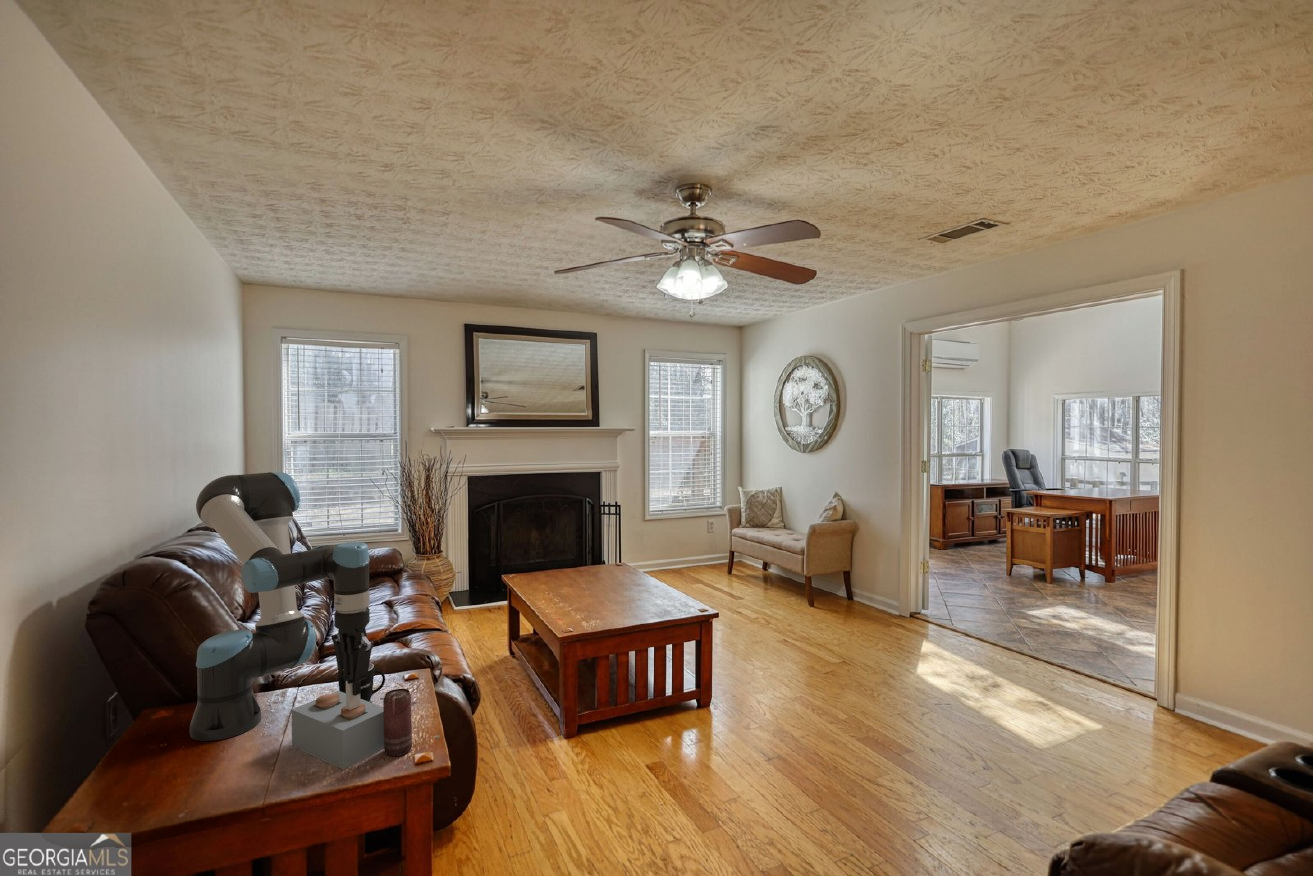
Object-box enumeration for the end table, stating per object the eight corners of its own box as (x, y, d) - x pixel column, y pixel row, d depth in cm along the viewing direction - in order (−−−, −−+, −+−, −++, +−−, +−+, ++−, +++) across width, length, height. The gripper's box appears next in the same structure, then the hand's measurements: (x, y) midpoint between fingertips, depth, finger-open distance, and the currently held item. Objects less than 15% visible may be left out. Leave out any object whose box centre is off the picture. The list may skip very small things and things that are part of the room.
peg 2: (336, 750, 148) (336, 709, 147) (356, 740, 152) (356, 701, 152) (350, 756, 145) (349, 715, 145) (370, 746, 150) (369, 706, 149)
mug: (341, 715, 167) (341, 677, 166) (335, 702, 174) (335, 666, 174) (389, 703, 174) (389, 667, 174) (381, 691, 181) (381, 657, 181)
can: (382, 760, 145) (381, 700, 145) (386, 746, 151) (385, 689, 151) (410, 756, 147) (409, 697, 146) (413, 742, 153) (412, 686, 152)
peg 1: (311, 739, 153) (311, 700, 152) (331, 730, 157) (331, 692, 157) (324, 745, 150) (323, 705, 150) (344, 735, 155) (344, 696, 154)
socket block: (292, 746, 151) (291, 709, 151) (338, 725, 161) (338, 690, 161) (343, 769, 141) (342, 730, 141) (389, 745, 151) (388, 709, 151)
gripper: (320, 608, 147) (321, 707, 148) (354, 617, 141) (356, 720, 142) (349, 600, 154) (350, 695, 155) (383, 609, 148) (385, 707, 148)
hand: (353, 707), depth 148 cm, fingers closed
